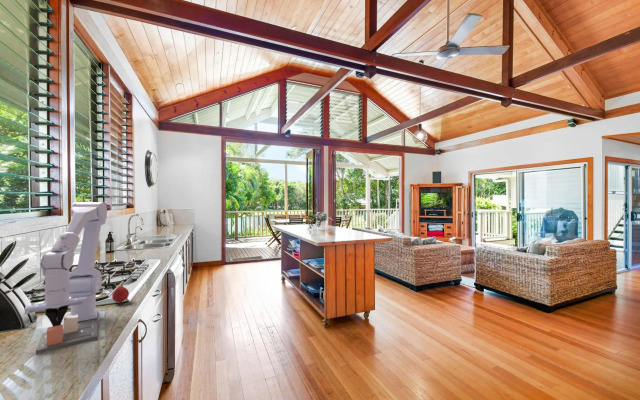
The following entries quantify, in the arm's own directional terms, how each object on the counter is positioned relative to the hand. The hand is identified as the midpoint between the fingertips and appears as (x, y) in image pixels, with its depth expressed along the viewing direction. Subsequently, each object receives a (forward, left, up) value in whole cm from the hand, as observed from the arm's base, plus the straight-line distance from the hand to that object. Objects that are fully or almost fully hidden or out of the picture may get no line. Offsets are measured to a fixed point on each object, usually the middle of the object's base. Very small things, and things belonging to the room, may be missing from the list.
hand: (57, 330), depth 91 cm
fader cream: (0, +3, -1) cm, 3 cm away
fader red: (+7, 0, -1) cm, 7 cm away
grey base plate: (+3, +3, -2) cm, 5 cm away
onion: (-23, +18, -3) cm, 30 cm away
